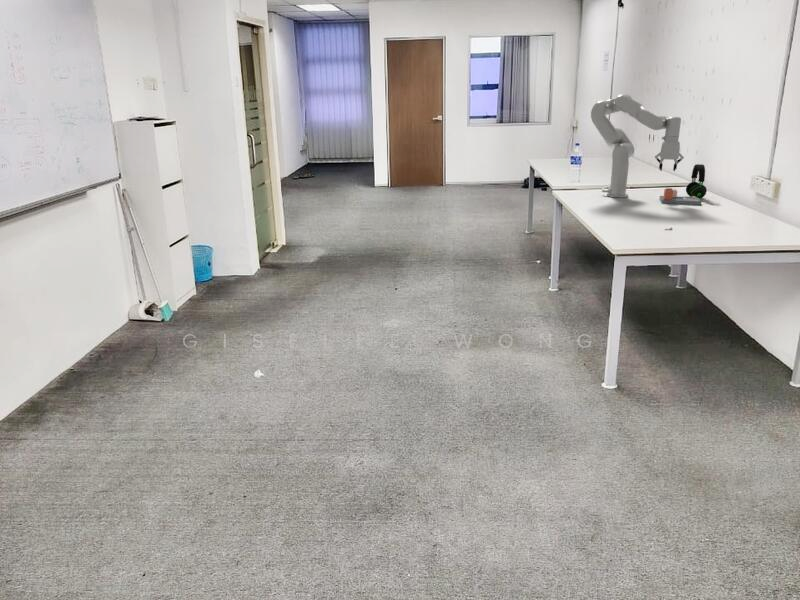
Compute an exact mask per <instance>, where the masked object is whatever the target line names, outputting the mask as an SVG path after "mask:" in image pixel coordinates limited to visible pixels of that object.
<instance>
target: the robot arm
mask: <svg viewBox="0 0 800 600" xmlns="http://www.w3.org/2000/svg"><path fill="white" fill-rule="evenodd" d="M619 112H622V113H624V114H626V115H628V116H630V117H631V118H633V119H635V120H636V121H637V122H639V123H640V124H642V125H643V126H645V127H647V128H649V129H650V130H654V131H660V130H665V132H664V136H661V140H663V141H662V143H661V146H660V147H661V148H660V152H659V153H657V154H655V156H654V158H655V160H656V161H657V162H658V163H659V166H658V170H659V171H663V162H664V160H673V161H674V163H673V169H672V171H674V172H676V170H677V167H678V164H679V163H681V161H682V160H684V158H685V157H684V156H683V155H682V154H681V151H680V150H681V143H680V141H679V139H680V138H679V137H680V130H681V123H682V119H681V117H679V116H662V115H659V116H658V115H656V114H654V113H652V112H650V111H649V110H647V108H646V107H645V106H644V104H642V103H640V102H638V101H636V100H634V99H633V98H632V96H631V95H629V94H619V95H617V96H616V97H614V98H610V99H606V100H599V101H597V102H595V103H594V105H593V106H592V109H591V111H590V119H591V121H592V123H593V125H594V127H595V128H596V130H597V131H598V132H599V134H600V136H601V137H602V138H603V140H604V142H605V143H606V144H607V145H610V146H613V147H614V148H613V150H612V154H611V155H612V156H611V157H612V158H611V159H612V163H611V164H612V165H611V176H610V184H609V185H610V186H609V188H601V192H602V193H606V196H607V197H609V196H610V197H611V198H628V196H629V194H628V193H627V187H628V186H627V185H628V176H629V165H630V161H629V160H630V159H629V158H631V157H632V156H633V155H634V154H635V147H634V145H633V143H632V142H631V140H630V139H629V137H628V135H626V134H627V133H625V132H624V130H622V129H621V128H618V127H617V128H616V127H614V125H613V123H612V122H611V121H610V119H609V118H608V116H607V115H611V114H615V113H619Z"/></svg>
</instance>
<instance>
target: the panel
mask: <svg viewBox="0 0 800 600" xmlns="http://www.w3.org/2000/svg"><path fill="white" fill-rule="evenodd" d="M663 197H664V195H659V201H660V203H661V204H662V203H666V205H686V204H693V205H692V206H701V205H702V200H700V199H701V198H700V199H699V198H698V197H696V196H692V197H690V196H677V198H674V197H673V198H672V200H665V199H663Z"/></svg>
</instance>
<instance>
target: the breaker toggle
mask: <svg viewBox="0 0 800 600" xmlns="http://www.w3.org/2000/svg"><path fill="white" fill-rule="evenodd" d="M673 190H674V191H673V197H674V198H677V197H678V190H677V189H675V188H674V189H673Z"/></svg>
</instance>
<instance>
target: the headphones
mask: <svg viewBox="0 0 800 600" xmlns="http://www.w3.org/2000/svg"><path fill="white" fill-rule="evenodd" d="M705 176H706V167H705V165H704V164H700V163H698V164H696V163H695V165H694V166H693V168H692V172H691V177H690V178H691V179H692V180H691V182H689V183H688V184H687V186H686V188H685V192H686V195H688V197H692V196H696V197H698V198H699V199H702V198H704V197H705V196H706V195H707V191H708V190H707V187H706V186H705V185H704V182H705V178H706V177H705ZM696 179H698V182H697V180H696Z"/></svg>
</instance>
